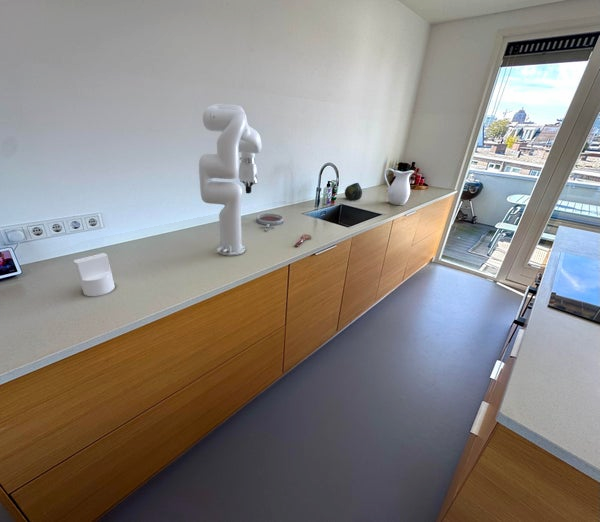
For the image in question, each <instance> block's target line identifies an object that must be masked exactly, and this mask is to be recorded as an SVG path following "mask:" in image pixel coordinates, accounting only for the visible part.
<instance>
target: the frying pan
mask: <svg viewBox="0 0 600 522" xmlns="http://www.w3.org/2000/svg"><path fill="white" fill-rule="evenodd" d="M255 219H256V221H257V223H258V224H260V225H259V227H260V228H262V229H264V232H267V231H268V229H275V226H279V225H281V224H283V222H284V220H285V219H284V216H283V215H281V214H277V213H268V212H267V213H261V214H258V215H257V216H256V218H255Z"/></svg>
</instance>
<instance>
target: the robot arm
mask: <svg viewBox="0 0 600 522" xmlns="http://www.w3.org/2000/svg"><path fill="white" fill-rule="evenodd" d="M247 117H248V116H247V114H246V112H245V109H244V108H243V107H242V106H240V105H238V104H233V103H213V104H211V105H209V106H208V107H206V108H205V109H204V111H203V114H202V123H203V126H204V127H205V129H206V130H208V131H210V132H220V134H219V136H218V138H217V140H216V154H215V153H204V154H202V155H201V156H200V157H199V160H198V176H199V190H200V197H201V200H202V202H204V203H206V204H211V205H212V204H213V205H222V206H223V207H222V208H221V210H220V211H219V215H218V219H219V220H218V221H219V222H218V223H219V240H220V243H219V246H218V247H217V248H216V249H215V250H214V252H215V253H216V254H220V255H222V256H229V257H231V256H232V257H233V256H240V255H242V254H243V253H245V251H246V246H244V245H243V244H242V202H243V201H242V200H243V188H242V186H241V185H240V184H238V183H237V182H231V181H217V180H216V181H215V180H213V179H219V180H235V179H236V178H238V180H239V182H240V183H243V185H244V187H245V194H251V193H252V187H253V185H257V184H258V168H257V164H256V154H260V153H261V151H262V148H263V143H262V139H261V135H260V133H259V132H258V131H257V130H256V129H255V128H253V127H252V126H250V125H249V123H248V118H247ZM239 154H241V157H239V156H240V155H239ZM239 160H240V162H239Z"/></svg>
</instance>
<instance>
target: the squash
mask: <svg viewBox="0 0 600 522" xmlns="http://www.w3.org/2000/svg"><path fill="white" fill-rule="evenodd" d="M344 196H345V199H346V200H349V201H352V200H354V201H359V200H360V199H361V198H362V196H363V189H362V187H361V185H360V183H359V182H355V183H352V184H349V185H347V186H346V188H345V189H344Z"/></svg>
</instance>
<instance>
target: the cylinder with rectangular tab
mask: <svg viewBox="0 0 600 522" xmlns="http://www.w3.org/2000/svg"><path fill="white" fill-rule="evenodd" d="M73 262H74V266H75V268H76V269H75V270H76V273H77V275H78V279H79V282H80V285H81V288H82V292H83V294H84V295H85V296H87V297H99V296H103V295H107V294H109V293H110V292H112V291H113V290H114V289H115V286H116V285H115V281H114V278H113V277H114V276H113V272H112V269H111V264H110V261H109V257H108V254H107V253H106V252H101V253H98V254H94V255H90V256H86V257H81V258H77V259H73Z"/></svg>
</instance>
